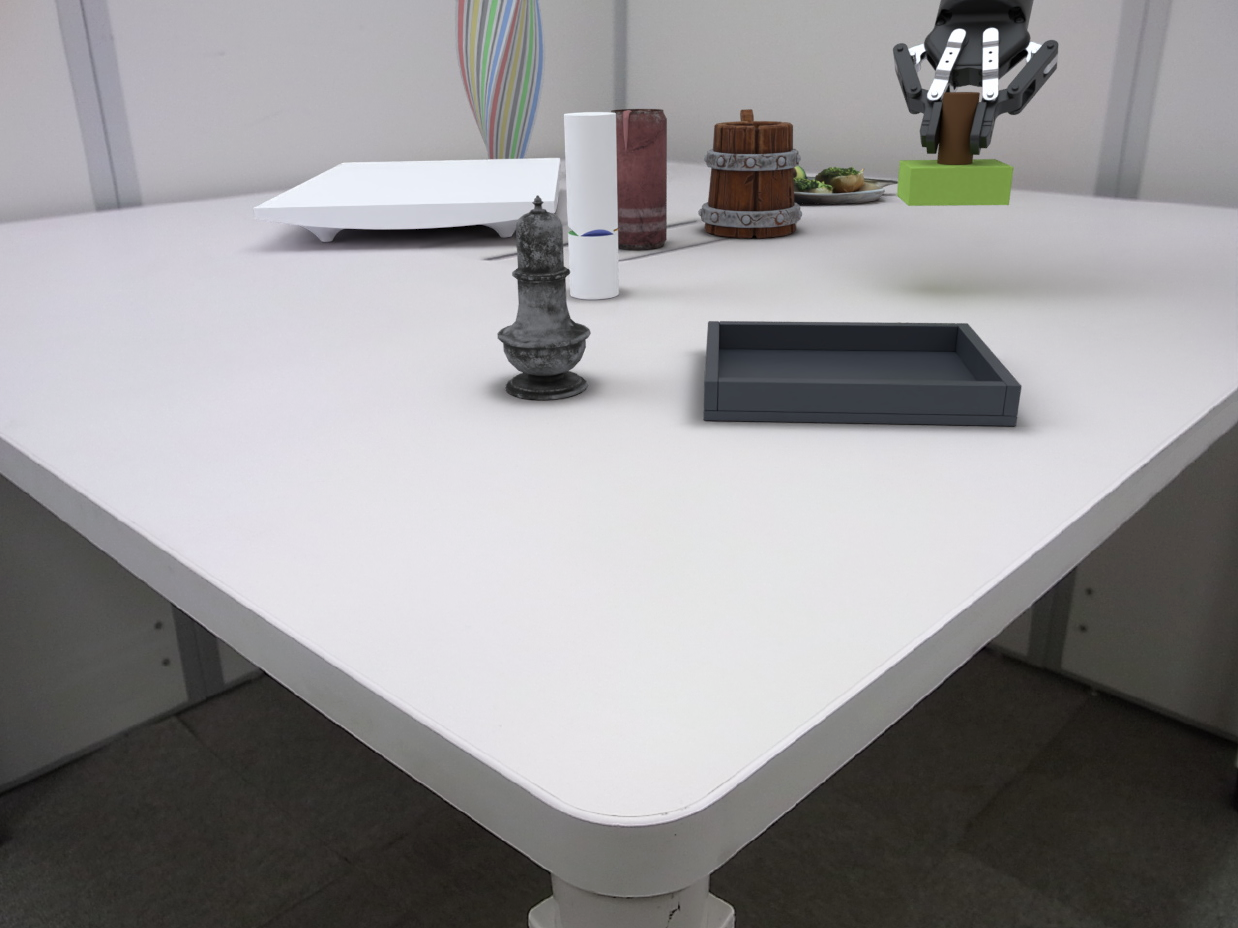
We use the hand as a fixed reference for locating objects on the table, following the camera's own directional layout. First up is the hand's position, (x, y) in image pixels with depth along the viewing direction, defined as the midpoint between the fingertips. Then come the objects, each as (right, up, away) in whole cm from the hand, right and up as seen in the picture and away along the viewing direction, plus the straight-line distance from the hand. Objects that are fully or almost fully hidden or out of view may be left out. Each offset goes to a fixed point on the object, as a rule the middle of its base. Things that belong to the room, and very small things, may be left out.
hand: (952, 147), depth 81 cm
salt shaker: (-32, -21, -16) cm, 41 cm away
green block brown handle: (+1, -3, +3) cm, 5 cm away
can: (-25, -2, +28) cm, 38 cm away
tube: (-29, -11, +8) cm, 32 cm away
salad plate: (+1, +12, +60) cm, 61 cm away
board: (-51, +6, +50) cm, 71 cm away
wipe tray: (-13, -21, -17) cm, 30 cm away
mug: (-12, +2, +37) cm, 39 cm away
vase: (-45, +21, +84) cm, 98 cm away
